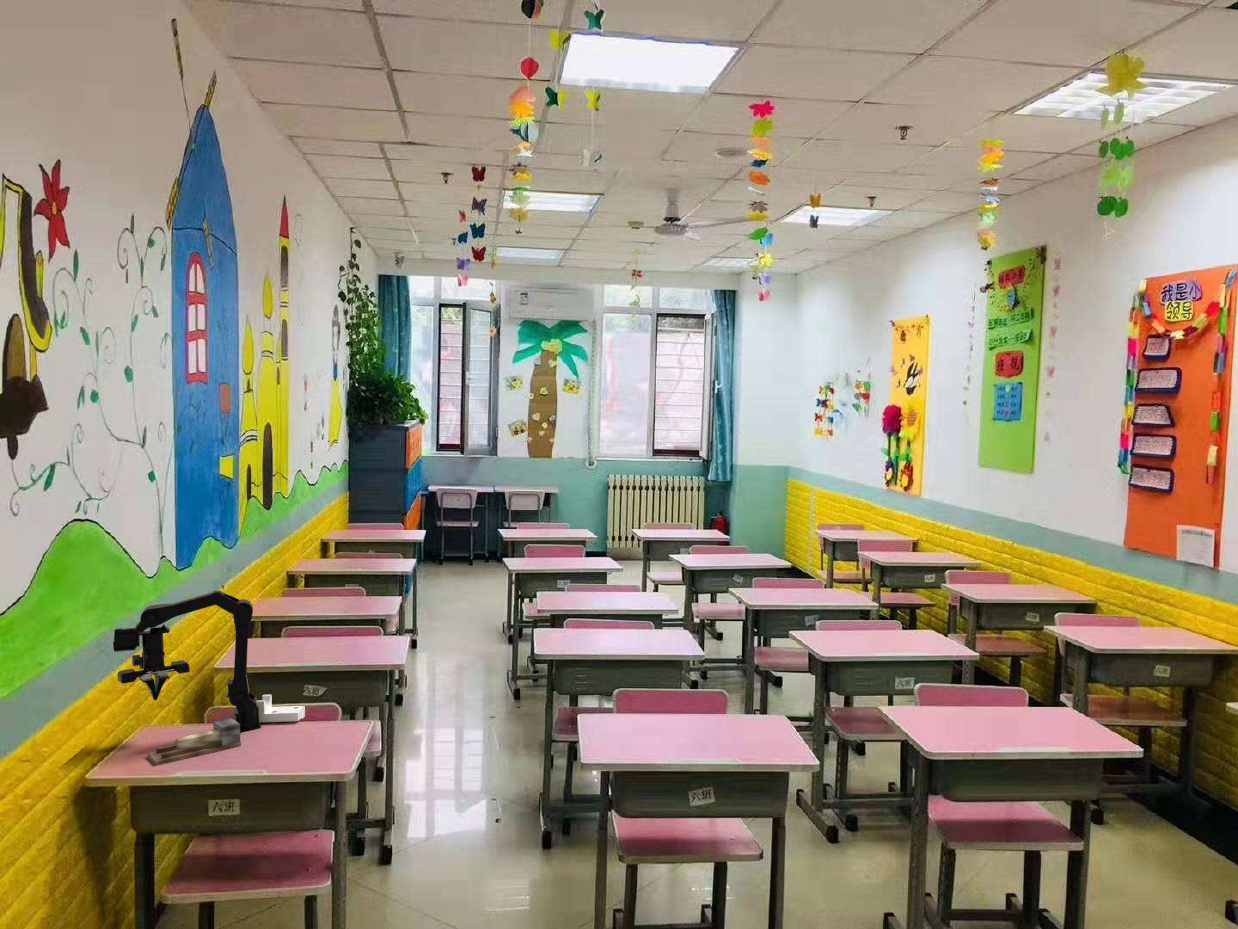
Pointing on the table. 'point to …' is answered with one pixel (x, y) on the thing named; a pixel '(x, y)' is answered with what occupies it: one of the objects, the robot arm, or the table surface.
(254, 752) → the table surface
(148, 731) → the table surface
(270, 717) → the bracket
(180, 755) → the base
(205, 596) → the robot arm
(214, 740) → the grey beige long block
